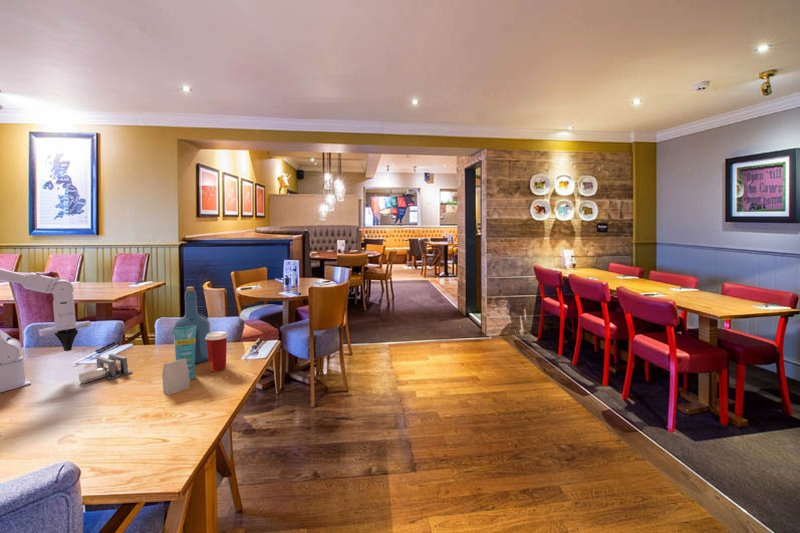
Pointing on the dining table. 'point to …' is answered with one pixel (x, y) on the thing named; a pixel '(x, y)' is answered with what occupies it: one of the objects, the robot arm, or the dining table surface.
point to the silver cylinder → (98, 373)
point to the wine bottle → (195, 319)
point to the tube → (186, 346)
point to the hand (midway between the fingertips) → (67, 350)
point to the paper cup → (216, 350)
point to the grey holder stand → (110, 367)
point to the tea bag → (175, 376)
